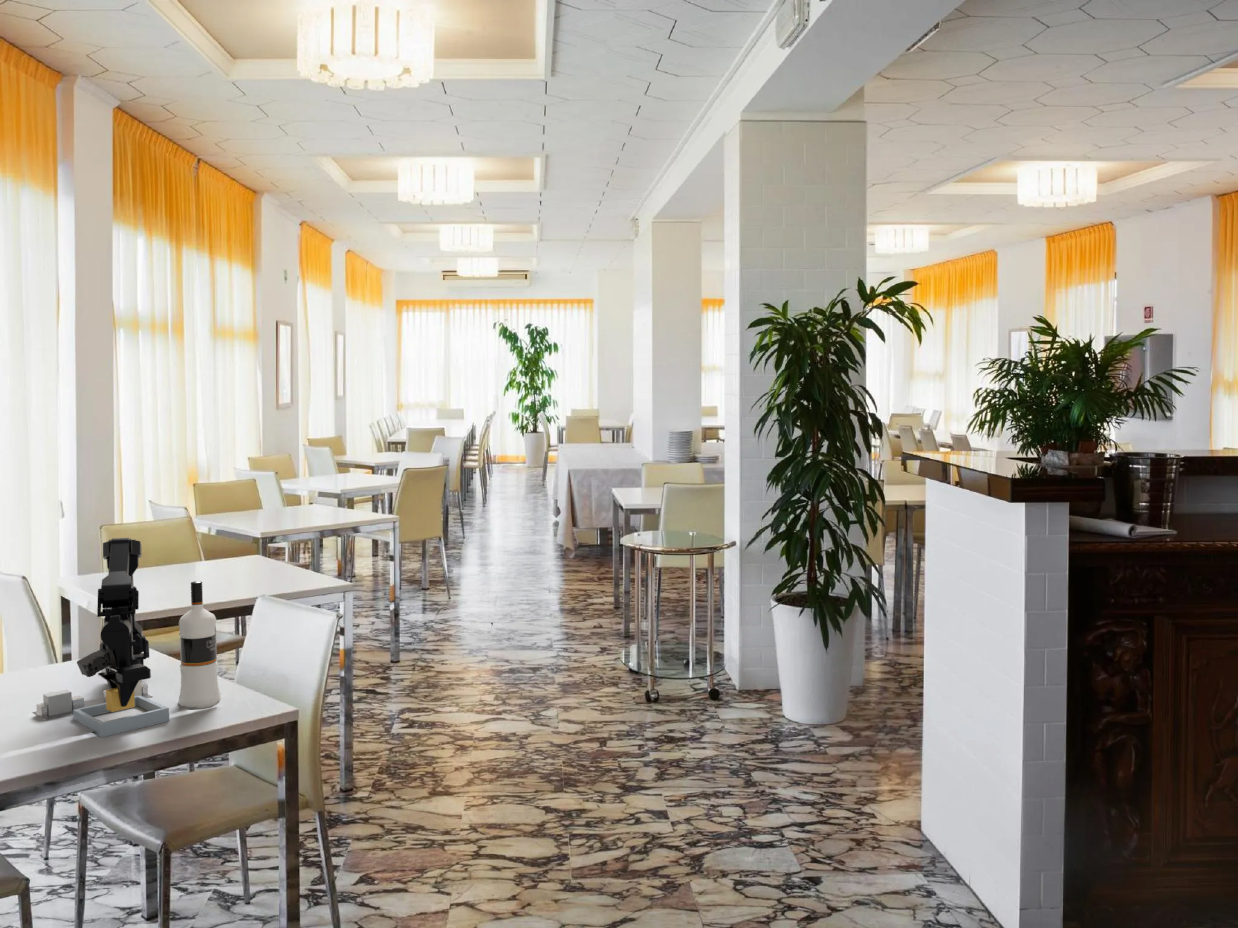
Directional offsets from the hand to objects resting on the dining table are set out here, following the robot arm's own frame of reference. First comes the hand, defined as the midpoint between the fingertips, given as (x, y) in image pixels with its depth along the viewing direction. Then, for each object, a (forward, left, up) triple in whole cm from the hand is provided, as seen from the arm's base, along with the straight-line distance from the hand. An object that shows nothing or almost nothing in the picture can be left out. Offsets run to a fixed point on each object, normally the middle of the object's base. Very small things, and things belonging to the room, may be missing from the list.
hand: (120, 704), depth 231 cm
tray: (0, 0, -4) cm, 4 cm away
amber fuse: (0, 0, -1) cm, 1 cm away
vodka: (-18, +1, -4) cm, 19 cm away
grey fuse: (+8, -15, -3) cm, 17 cm away
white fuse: (-8, -15, -3) cm, 17 cm away
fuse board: (0, -15, -4) cm, 15 cm away
